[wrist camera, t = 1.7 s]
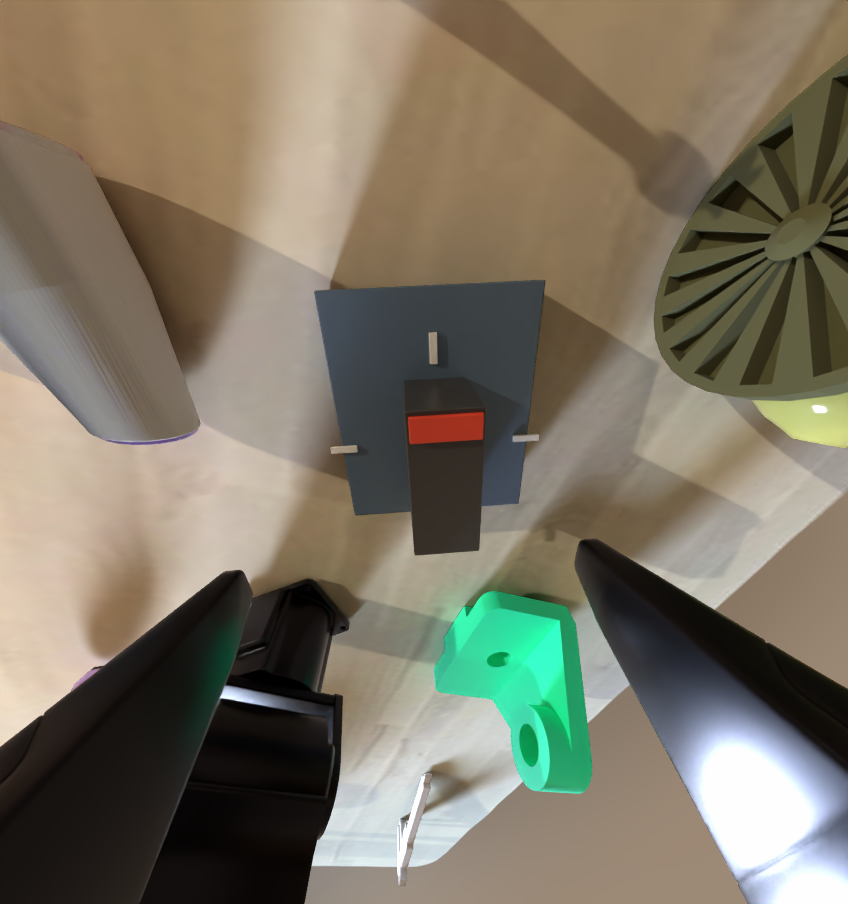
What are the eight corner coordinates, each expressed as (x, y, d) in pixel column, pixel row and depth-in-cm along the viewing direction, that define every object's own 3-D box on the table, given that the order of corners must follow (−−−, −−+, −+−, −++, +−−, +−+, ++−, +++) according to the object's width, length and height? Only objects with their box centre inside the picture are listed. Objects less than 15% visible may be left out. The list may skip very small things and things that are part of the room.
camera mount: (482, 577, 25) (527, 738, 16) (560, 594, 27) (642, 750, 18) (429, 660, 30) (441, 820, 21) (498, 671, 32) (537, 824, 22)
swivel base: (513, 494, 22) (527, 519, 19) (353, 505, 21) (347, 532, 19) (537, 281, 16) (561, 278, 13) (314, 291, 15) (298, 291, 13)
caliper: (404, 823, 51) (404, 888, 45) (397, 823, 50) (396, 888, 45) (432, 770, 42) (436, 843, 36) (424, 770, 42) (427, 843, 36)
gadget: (462, 495, 18) (480, 555, 14) (412, 498, 18) (414, 560, 14) (464, 376, 15) (488, 408, 11) (403, 380, 15) (403, 413, 11)
